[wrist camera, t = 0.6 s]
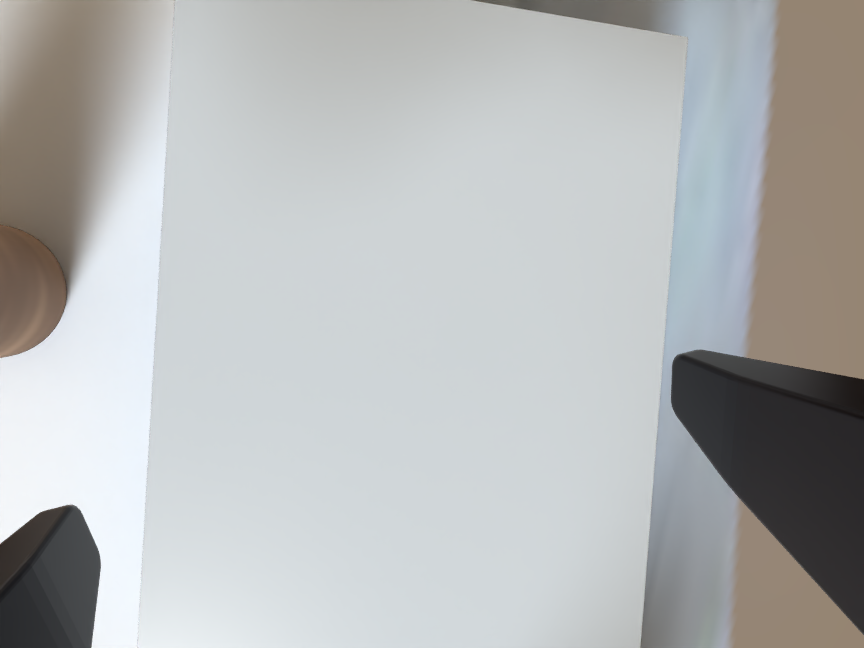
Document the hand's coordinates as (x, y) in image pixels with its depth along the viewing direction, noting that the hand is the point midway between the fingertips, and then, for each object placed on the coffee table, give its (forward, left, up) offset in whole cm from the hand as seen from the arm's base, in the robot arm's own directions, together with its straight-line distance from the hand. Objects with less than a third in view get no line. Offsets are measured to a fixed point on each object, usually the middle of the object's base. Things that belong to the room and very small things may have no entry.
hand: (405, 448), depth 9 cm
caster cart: (+1, -2, -14) cm, 14 cm away
